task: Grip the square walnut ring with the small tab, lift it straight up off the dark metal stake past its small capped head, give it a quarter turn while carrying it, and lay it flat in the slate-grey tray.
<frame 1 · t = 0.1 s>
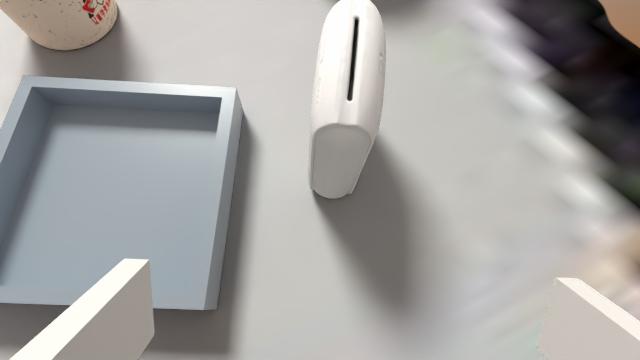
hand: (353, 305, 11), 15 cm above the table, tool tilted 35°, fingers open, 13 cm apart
photo printer: (334, 146, 30), on the table
slate tray: (127, 194, 27), on the table
teacup with lid: (74, 9, 34), on the table
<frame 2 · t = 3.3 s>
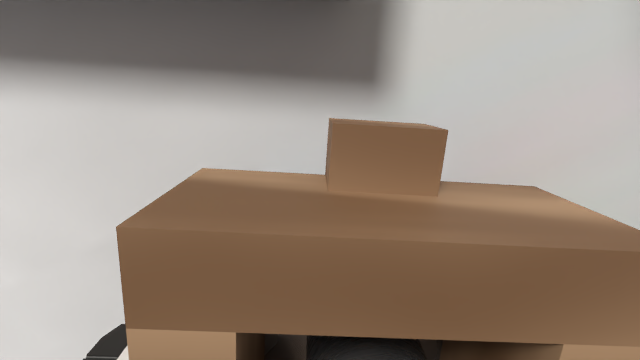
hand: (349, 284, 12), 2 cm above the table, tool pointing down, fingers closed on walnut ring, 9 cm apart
metal stake: (343, 257, 14), on the table
walnut ring: (356, 321, 10), point 4 cm above the table, touching gripper, metal stake
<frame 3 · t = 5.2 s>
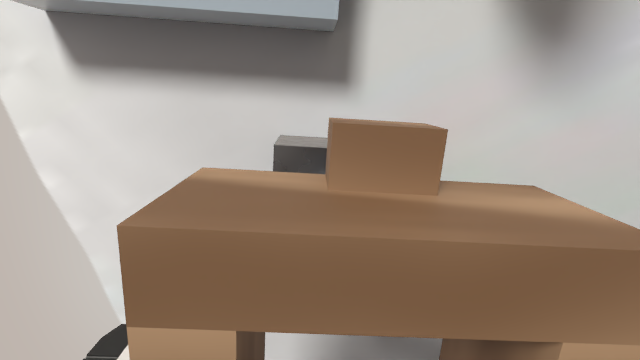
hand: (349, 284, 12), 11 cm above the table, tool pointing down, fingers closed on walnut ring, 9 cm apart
metal stake: (329, 189, 23), on the table
walnut ring: (356, 320, 10), point 13 cm above the table, touching gripper
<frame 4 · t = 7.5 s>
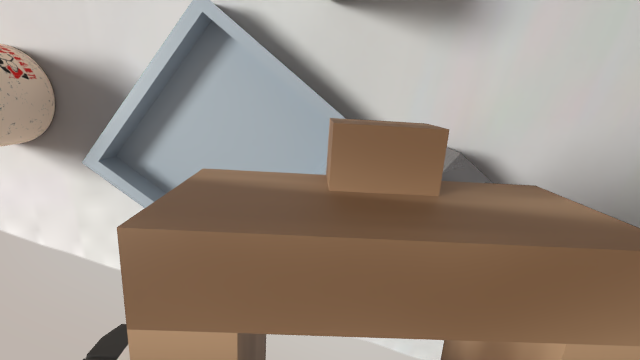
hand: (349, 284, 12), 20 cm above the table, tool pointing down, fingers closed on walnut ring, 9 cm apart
metal stake: (442, 196, 32), on the table
slate tray: (234, 144, 31), on the table
walnut ring: (357, 321, 10), point 22 cm above the table, touching gripper
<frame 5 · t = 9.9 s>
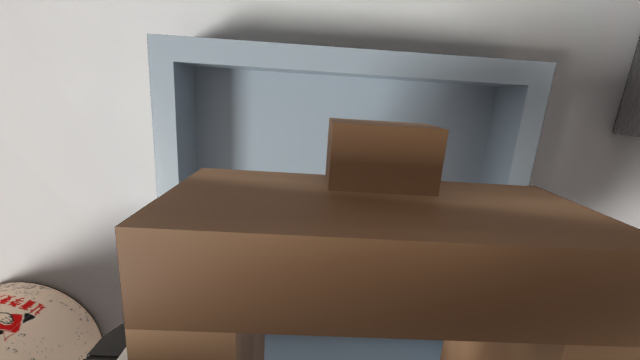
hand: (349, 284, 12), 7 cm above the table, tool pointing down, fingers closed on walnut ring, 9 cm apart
slate tray: (335, 213, 19), on the table
teacup with lid: (18, 344, 21), on the table
walnut ring: (356, 321, 10), point 9 cm above the table, touching gripper
when the fingers open (2 cm above the table, at t = 11.9 s): walnut ring drops 3 cm, resting on slate tray.
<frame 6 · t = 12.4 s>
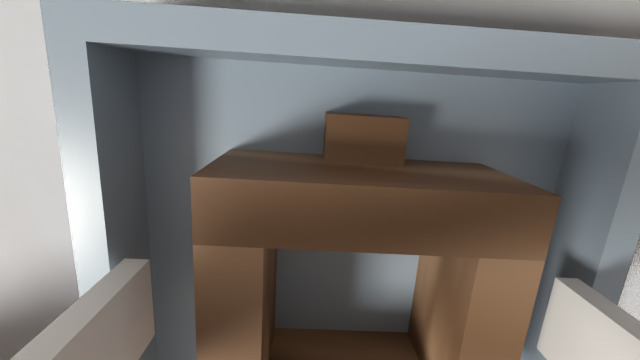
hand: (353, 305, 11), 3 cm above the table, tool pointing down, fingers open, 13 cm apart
slate tray: (344, 258, 14), on the table
walnut ring: (347, 269, 13), point 1 cm above the table, touching slate tray
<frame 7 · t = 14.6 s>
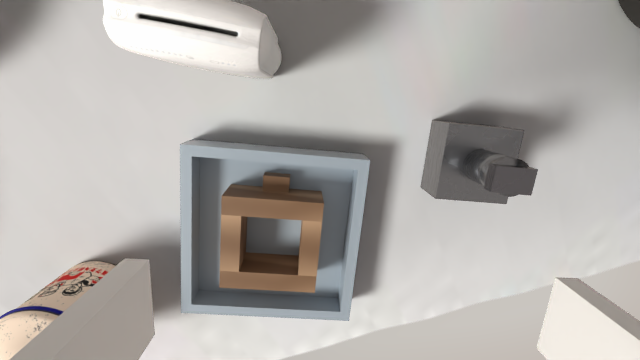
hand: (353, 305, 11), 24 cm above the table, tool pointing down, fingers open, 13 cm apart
metal stake: (459, 157, 34), on the table
photo printer: (226, 50, 31), on the table
slate tray: (274, 226, 35), on the table
teacup with lid: (90, 298, 36), on the table
walnut ring: (273, 229, 34), point 1 cm above the table, touching slate tray
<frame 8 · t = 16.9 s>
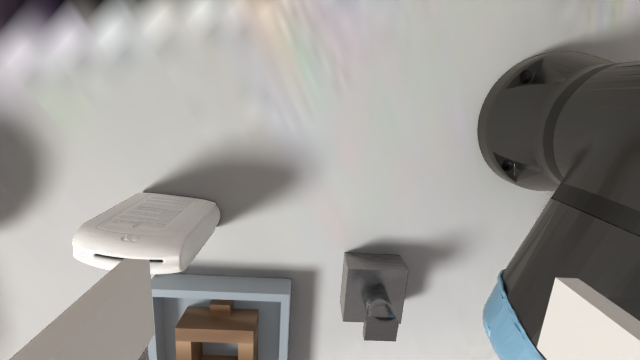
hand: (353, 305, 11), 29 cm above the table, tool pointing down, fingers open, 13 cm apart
metal stake: (369, 278, 43), on the table
photo printer: (178, 210, 40), on the table
slate tray: (225, 332, 44), on the table
walnut ring: (223, 338, 43), point 1 cm above the table, touching slate tray
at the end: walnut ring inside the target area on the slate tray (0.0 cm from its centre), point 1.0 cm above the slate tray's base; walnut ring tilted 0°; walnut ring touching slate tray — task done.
